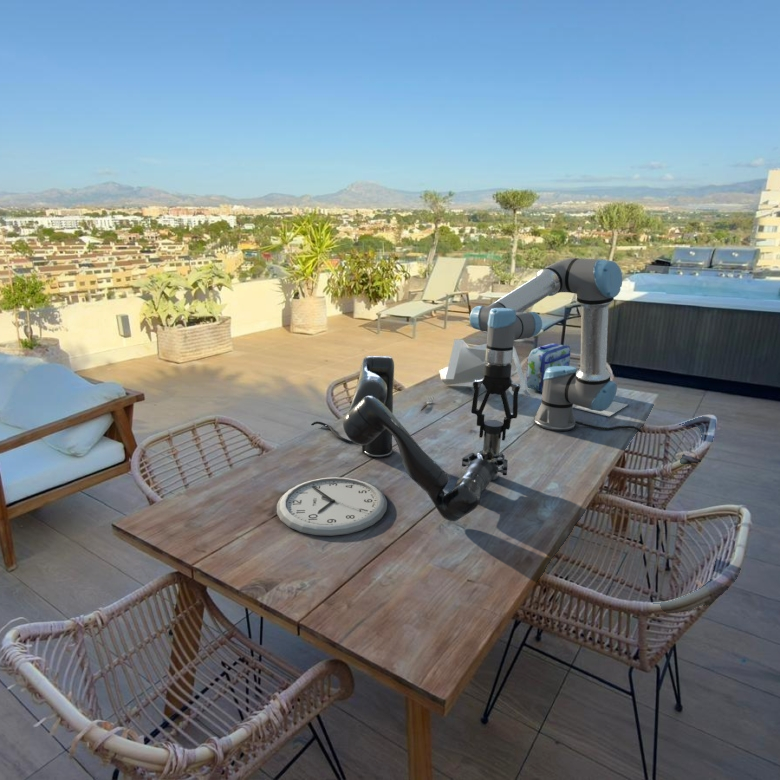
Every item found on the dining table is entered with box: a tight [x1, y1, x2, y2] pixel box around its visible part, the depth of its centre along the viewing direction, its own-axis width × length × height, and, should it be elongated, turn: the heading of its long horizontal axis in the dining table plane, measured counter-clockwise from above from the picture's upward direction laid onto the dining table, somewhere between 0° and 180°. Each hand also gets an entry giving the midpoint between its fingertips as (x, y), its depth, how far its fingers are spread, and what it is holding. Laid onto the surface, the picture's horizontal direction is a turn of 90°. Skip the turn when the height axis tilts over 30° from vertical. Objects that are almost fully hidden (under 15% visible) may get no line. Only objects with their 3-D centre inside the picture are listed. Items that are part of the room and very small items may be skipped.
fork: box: [420, 396, 435, 411], centre depth 223 cm, size 3×16×2 cm, turn 160°
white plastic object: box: [438, 338, 531, 397], centre depth 245 cm, size 37×45×31 cm
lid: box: [483, 419, 503, 434], centre depth 156 cm, size 6×6×2 cm
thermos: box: [482, 430, 502, 481], centre depth 158 cm, size 5×5×17 cm
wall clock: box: [276, 476, 388, 537], centre depth 142 cm, size 30×2×30 cm
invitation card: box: [573, 400, 629, 418], centre depth 226 cm, size 21×1×15 cm
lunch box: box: [525, 343, 571, 393], centre depth 249 cm, size 26×11×21 cm, turn 134°
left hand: (492, 454), depth 161 cm, fingers closed on thermos, 5 cm apart
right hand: (492, 437), depth 157 cm, fingers open, 6 cm apart
